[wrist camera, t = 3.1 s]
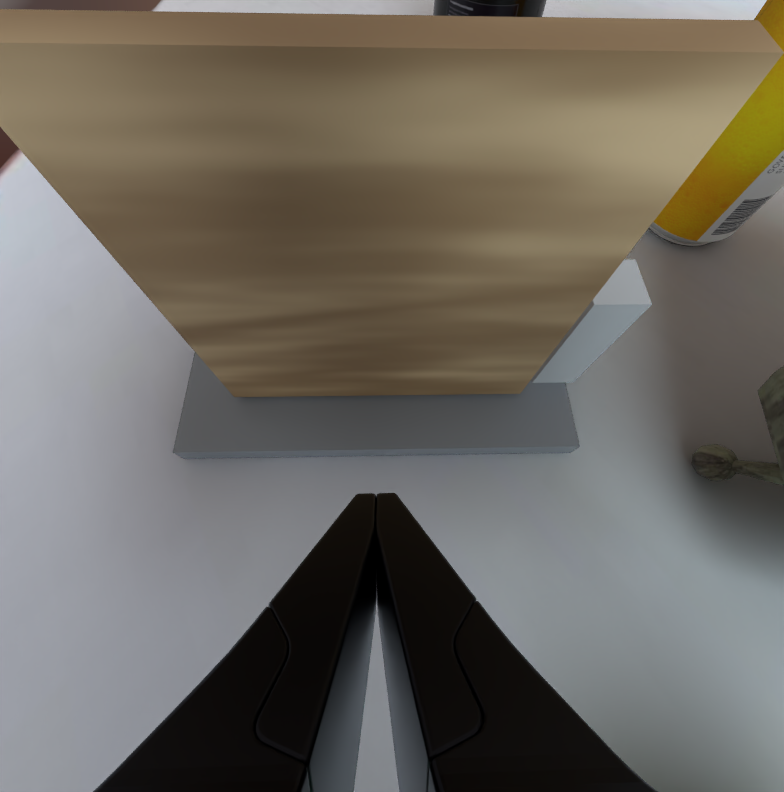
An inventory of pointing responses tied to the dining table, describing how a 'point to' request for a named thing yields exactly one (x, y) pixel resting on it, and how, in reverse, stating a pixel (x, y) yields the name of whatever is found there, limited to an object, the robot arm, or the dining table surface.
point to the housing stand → (413, 404)
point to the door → (370, 175)
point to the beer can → (735, 161)
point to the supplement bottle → (489, 8)
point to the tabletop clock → (715, 462)
